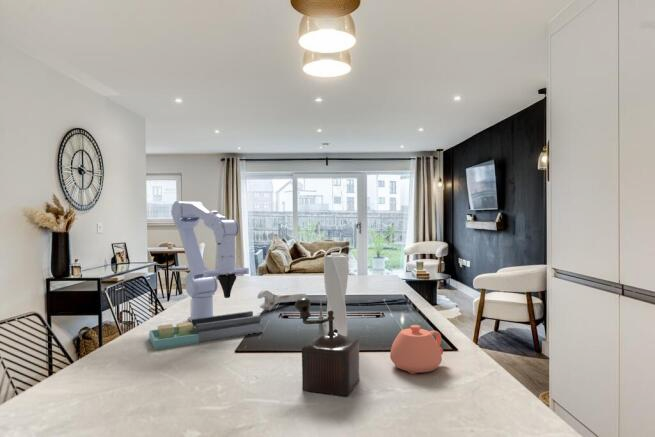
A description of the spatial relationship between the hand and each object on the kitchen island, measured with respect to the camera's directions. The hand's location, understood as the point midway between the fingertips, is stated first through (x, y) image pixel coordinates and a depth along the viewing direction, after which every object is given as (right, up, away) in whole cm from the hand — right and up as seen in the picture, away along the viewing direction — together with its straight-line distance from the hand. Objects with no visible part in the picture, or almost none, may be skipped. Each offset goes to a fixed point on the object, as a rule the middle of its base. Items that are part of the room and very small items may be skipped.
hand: (227, 297), depth 138 cm
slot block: (+1, -10, -5) cm, 11 cm away
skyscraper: (+35, -11, -15) cm, 40 cm away
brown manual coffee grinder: (+32, -11, -44) cm, 56 cm away
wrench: (+15, -10, +33) cm, 38 cm away
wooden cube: (-10, -10, -11) cm, 18 cm away
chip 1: (-13, -8, -13) cm, 20 cm away
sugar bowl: (+56, -11, -35) cm, 67 cm away
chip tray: (-13, -11, -13) cm, 21 cm away
